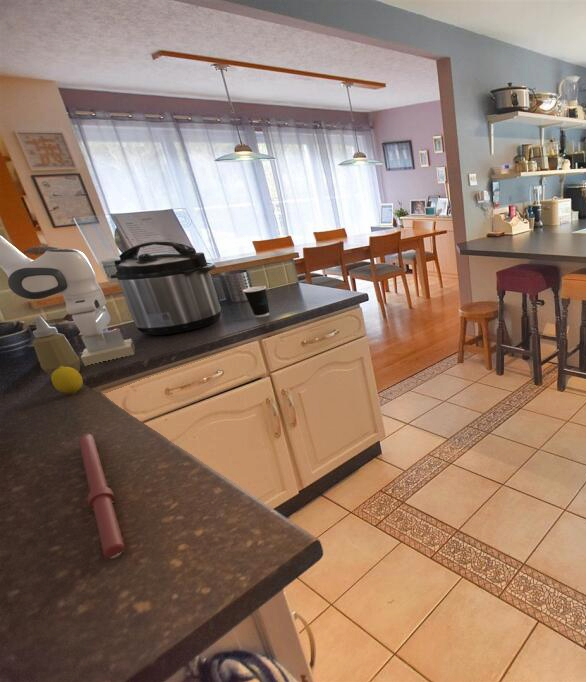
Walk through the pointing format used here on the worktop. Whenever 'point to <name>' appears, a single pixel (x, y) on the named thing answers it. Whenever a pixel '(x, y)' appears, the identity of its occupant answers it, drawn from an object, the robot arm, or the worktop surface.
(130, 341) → the block
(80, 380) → the lemon
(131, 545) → the worktop surface
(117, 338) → the light grey rectangular block
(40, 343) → the squeeze bottle
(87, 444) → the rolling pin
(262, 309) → the dixie cup
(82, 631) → the worktop surface
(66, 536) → the worktop surface
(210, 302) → the pressure cooker
